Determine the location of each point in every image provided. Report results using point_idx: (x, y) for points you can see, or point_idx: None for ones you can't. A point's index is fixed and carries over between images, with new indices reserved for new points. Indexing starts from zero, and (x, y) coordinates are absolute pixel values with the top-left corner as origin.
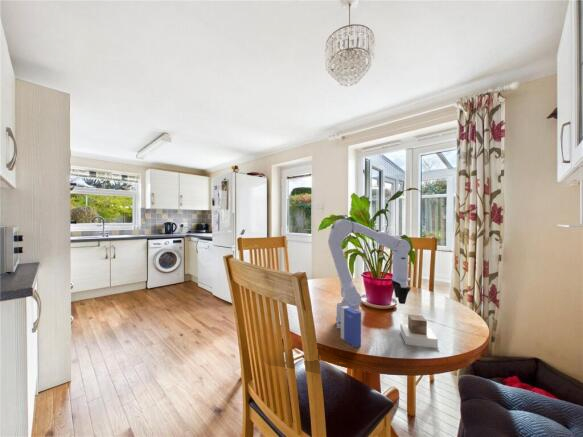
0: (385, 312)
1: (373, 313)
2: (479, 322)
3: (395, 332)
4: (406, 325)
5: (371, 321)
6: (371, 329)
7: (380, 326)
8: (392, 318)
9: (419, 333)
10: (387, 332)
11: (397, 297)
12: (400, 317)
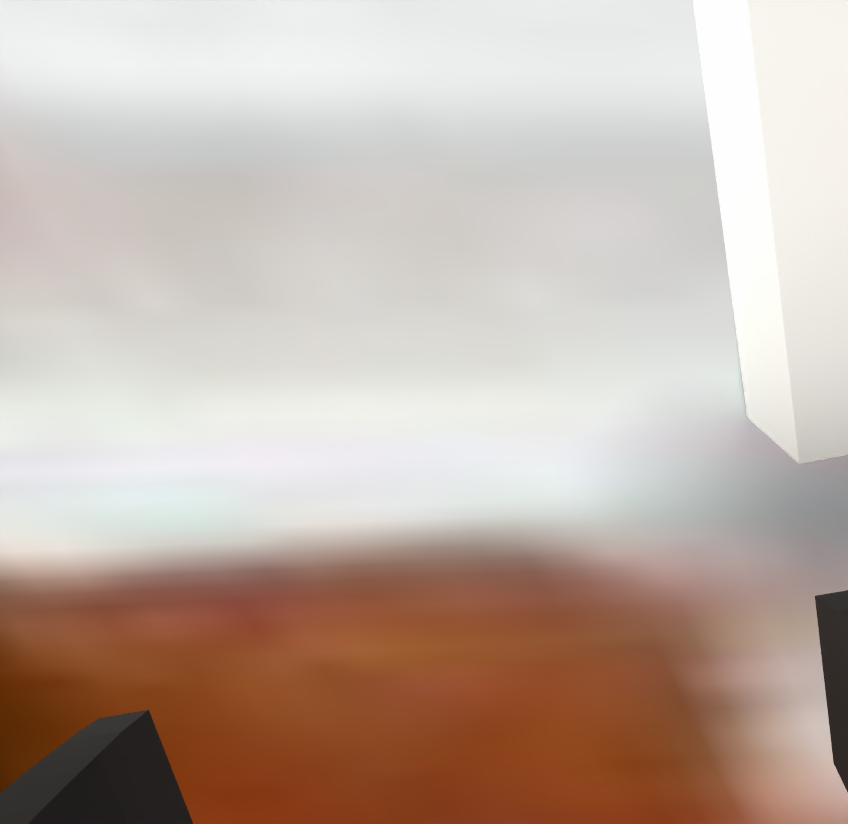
0: (11, 668)
1: None
2: None
3: (800, 486)
4: (834, 353)
5: (512, 820)
6: (815, 796)
7: (650, 697)
8: (221, 554)
9: None
10: None
11: (184, 816)
12: (96, 434)
